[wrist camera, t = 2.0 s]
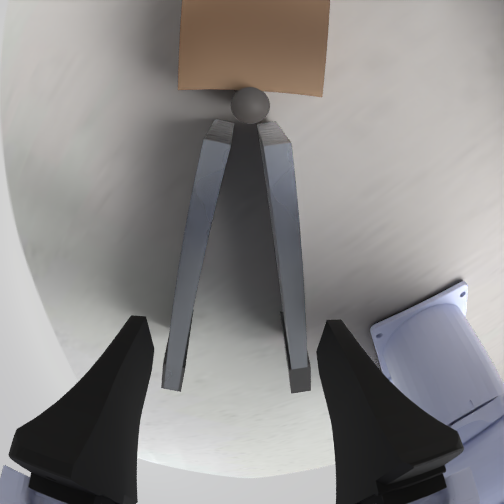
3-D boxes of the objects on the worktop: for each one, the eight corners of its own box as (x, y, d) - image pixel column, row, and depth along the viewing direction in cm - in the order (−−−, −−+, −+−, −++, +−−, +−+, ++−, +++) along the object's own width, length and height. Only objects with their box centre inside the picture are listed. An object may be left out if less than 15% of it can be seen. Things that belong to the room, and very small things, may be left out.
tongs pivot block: (204, -5, 9) (183, -46, 5) (301, 0, 9) (336, -36, 5) (198, 105, 12) (174, 123, 7) (293, 109, 12) (323, 130, 8)
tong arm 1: (212, 117, 12) (198, 137, 8) (237, 123, 12) (236, 146, 8) (171, 333, 19) (161, 387, 15) (188, 336, 19) (180, 391, 15)
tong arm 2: (253, 124, 12) (258, 147, 8) (279, 120, 12) (296, 142, 8) (283, 338, 19) (291, 393, 16) (300, 335, 19) (310, 390, 16)
